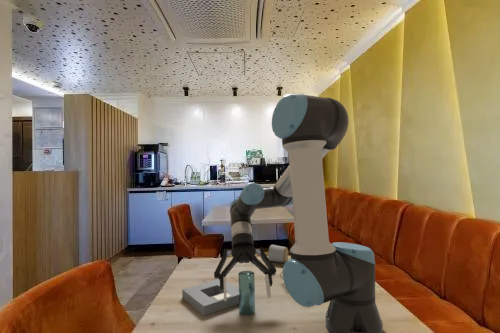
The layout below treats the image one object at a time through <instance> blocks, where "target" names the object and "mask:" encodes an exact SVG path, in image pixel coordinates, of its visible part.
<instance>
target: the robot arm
mask: <svg viewBox="0 0 500 333" xmlns="http://www.w3.org/2000/svg"><path fill="white" fill-rule="evenodd" d="M273 109H274V110H273V112H272V117H271V128H272V130H271V131H272V132H273V133H274V136H276V137H277V138H279V139H280V140H281V144H282V145H281V146H282V148H283V149H284V150H285V151H286V152H287V153H288V164H289V165H288V166H287V168H286V169H285V170H284V172H283V173H282V174H281V176H279V178H278V180H277V181H276V183H275V184H274V186H271V187H264V186H262V185H260V184H259V183H255V182H249V183H247V184H246V185H245V186H244V187H243V188H242V190H241V191H240V195H239V196H238V198H235V199H234V200H232V201H231V203H230V206H229V208H230V209H229V215H230V227H231V232H230V233H231V246H232V247H231V250H228V249H227V248H224V249H223V254H222V257H221V259H220V260H219V263H218V265H217V266H216V268H215V271H214V273H213V278H214V280H217V279H219V280H220V289H221V290H223V289H224V301H227V295H226V281H227V275H228V274H229V273H230V272H231V270H232V269H233V268H234V267H235V266H236V265H237V263H239V264H249V263H251V264H252V265H254V266H255V267H257V268H258V269H259V270H260V271H261V272H262V273H263V274H264V275H265V277H264V280H265V289H266V296H267V299H271V296H272V293H271V287H273V283H274V281H273V276H275V275H276V272H277V269H276V266H274V264H273V263H272V261H270V260H269V258H268V255H267V254H266V253H265V249H264V247H263V246H260V247H259V248H255V245H254V237H253V236H254V234H253V228H252V216H253V214H255V212H256V211H257V210H261V209H268V208H281V207H282V208H283V207H288V206H291V205H292V212H293V213H292V214H293V227H294V239H295V242H294V244H293V245H292V247H290V248H289V252H290V259H287V261H286V262H284V264H283V267H282V278H283V279H282V280H283V283H284V286H285V290H286V291H287V292H288V295H290V297H291V299H292V300H293V301H294V302H295V303H296V304H297V305H299V306H302V307H305V308H311V307H314V306H321V305H322V304H325V303H329V305H328V307H327V310H326V313H325V327H326V329H327V330H328V331H329V332H330V333H384V326H383V320H382V318H381V315H380V312H379V309H378V306H377V302H376V260H375V253H374V251H373V250H372V249H371V248H370V247H368V246H365V245H361V244H357V243H351V242H345V241H344V242H343V241H342V242H341V241H339V242H332V243H331V242H330V239H329V238H330V236H329V227H328V214H327V213H328V212H327V202H326V191H325V178H324V168H323V159H324V158H325V157H326V155H327V154H328V153H329V152H330V151H334V150H335V149H336V148H337V147H338V145H340V143H341V142H342V141H343V140H344V137H345V136H346V133H347V131H348V128H349V123H350V122H349V121H350V120H349V114H348V111H347V109H346V107H345V105H344V104H342V102H341V101H339V100H338V99H335V98H332V97H322V96H316V95H307V94H304V93H288V94H285V95H284V96H282V97H281V98H280V99H279V100H278V102H277V103H276V106H275V107H274V108H273ZM256 254H257V255H258V257H259V256H260V258H261V260H262V262H261V261H260V260H259V259H258V258H257V256H256ZM230 255H231V257H232V259H231V260H230V261H229V262H228V264H227V265H226V267H225V268H224V266H225V263H226V261H227V259H228V258H229V257H230ZM263 263H264V264H263ZM223 268H224V269H223Z"/></svg>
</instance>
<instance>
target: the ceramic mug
mask: <svg viewBox="0 0 500 333" xmlns="http://www.w3.org/2000/svg"><path fill="white" fill-rule="evenodd" d="M267 254H268V255H267V257H268V258H269V260H270V261H271V262H275V263H284V264H285V263H286V262H287V261H288V260H289V259H288V258H289V249H288V247H286V246H281V245H277V244H271V245H269V247H268V253H267Z"/></svg>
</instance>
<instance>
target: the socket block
mask: <svg viewBox="0 0 500 333" xmlns="http://www.w3.org/2000/svg"><path fill="white" fill-rule="evenodd" d="M181 293H182V299H183V300H184V301H185V302H187V303H188V304H189V305H190V306H192V308H193V309H195V310H196V311H198V312H199V313H200V314H201V315H202V316H203V317H205V316H208V315H211V314H213V313H217V312H219V311H222V310H225V309H228V308H231V307H233V306H236V305H239V286H238V287H237V286H236V285H235V284H232V283H230V282H228V281H227V280H226V295H227V301H224V289H223V290H221V289H220V280H219V279H214V280H211V281H207V282H203V283H200V284H197V285H193V286H189V287H186V288H183V289H182V292H181Z"/></svg>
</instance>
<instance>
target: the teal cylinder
mask: <svg viewBox="0 0 500 333" xmlns="http://www.w3.org/2000/svg"><path fill="white" fill-rule="evenodd" d="M238 288H239V304H238V311H239V312H238V313H239V314H240V315H242V316H251V315H254V314H255V313H256V304H255V302H256V296H255V295H256V294H255V291H256V288H255V272H254V271H252V270H242V271H239V272H238Z"/></svg>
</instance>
